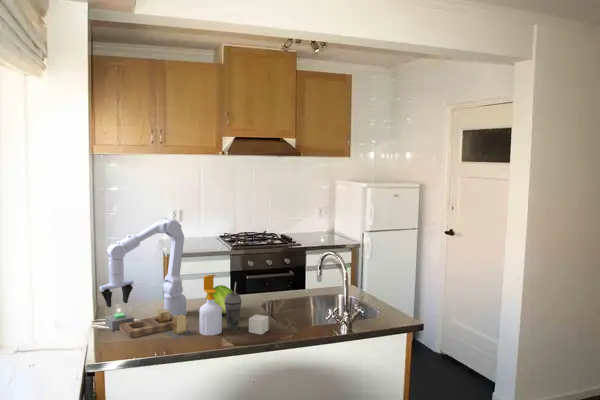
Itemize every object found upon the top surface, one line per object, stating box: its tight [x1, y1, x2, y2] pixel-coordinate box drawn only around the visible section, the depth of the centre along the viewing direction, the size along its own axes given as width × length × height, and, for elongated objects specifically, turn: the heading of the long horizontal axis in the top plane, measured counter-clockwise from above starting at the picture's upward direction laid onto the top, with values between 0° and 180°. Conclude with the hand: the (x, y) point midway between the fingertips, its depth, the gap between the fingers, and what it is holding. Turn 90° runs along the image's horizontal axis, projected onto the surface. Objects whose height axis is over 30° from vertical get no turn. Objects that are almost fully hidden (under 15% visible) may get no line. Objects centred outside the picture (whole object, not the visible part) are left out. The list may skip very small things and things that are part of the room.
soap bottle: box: [198, 274, 223, 336], centre depth 209 cm, size 9×9×25 cm
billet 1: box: [156, 308, 170, 324], centre depth 216 cm, size 4×4×7 cm
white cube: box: [248, 313, 269, 335], centre depth 213 cm, size 6×6×6 cm
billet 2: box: [172, 314, 187, 335], centre depth 208 cm, size 4×4×7 cm
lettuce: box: [205, 284, 234, 315], centre depth 234 cm, size 14×20×12 cm
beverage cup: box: [224, 281, 243, 331], centre depth 215 cm, size 7×7×20 cm
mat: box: [164, 328, 195, 339], centre depth 208 cm, size 9×9×1 cm
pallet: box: [119, 314, 173, 339], centre depth 213 cm, size 22×12×3 cm, turn 129°
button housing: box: [104, 311, 135, 332], centre depth 217 cm, size 9×9×4 cm
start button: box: [113, 312, 125, 319], centre depth 217 cm, size 4×4×3 cm
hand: (117, 304), depth 216 cm, fingers open, 7 cm apart
